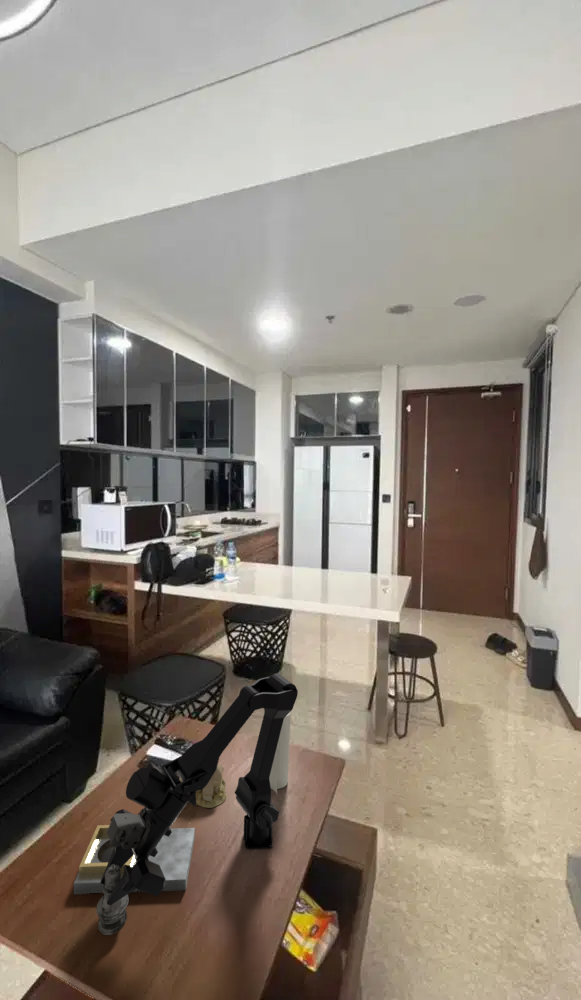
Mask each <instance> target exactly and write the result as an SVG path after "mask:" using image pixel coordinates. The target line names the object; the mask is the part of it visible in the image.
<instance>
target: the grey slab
mask: <svg viewBox="0 0 581 1000" xmlns="http://www.w3.org/2000/svg"><path fill="white" fill-rule="evenodd" d="M109 825H110V824H100V825H99V824H97V826H96V829H95V830H94V833H93V835H92V837H91V839H90V841H89V844H88V846H87V848H86V851H85V852H84V855H83V857H82V860H81V862H80V864H79V867H78V873H77V875H76V877H75V880H74V882H73V895H90V894H89V893H101V894H103V893H102V892H103V886H104V884H101V879H102V876H103V874H104V872H105V869H106V867H107V864H108V862H109V859H110V857H111V854H112V851H113V849H114V847H113V846H112V845H111V843H110V838H109V835H107V830H108V828H109ZM170 829H171V831H172V833H171V834H170V836H169V837H168V836H166V835H164V837H163V838H162V840H161V841H160V842H159V844H158V845H157V847H156V849H157V851H158V853H157V854H156V856H155V857H152V856H149V857H148V859H149V861H151V862H153V863H156V864H158V865H160V868H161V870H162V872H163V874H164V877H165V886H164V888H163V889H162V891H161V892H174V891H176V892H177V891H178V892H179V891H186V890H187V885H188V880H189V879H188V878H189V872H190V868H191V862H192V856H193V850H194V845H195V838H196V832H195V831H196V828H195V827H181V828H180V827H177V828H171V827H170ZM136 862H137V861H136V859H135V856H134V855H133V856H132V857H131V858H130V859H129V860H128V861H127V862H126V863H125V864H124V865H128V866H130V867H132V866H133V865H135V864H136ZM124 865H123V867H122V868H121V878H122V877H123V875H124ZM137 891H138V892H137ZM140 891H141V890H138V889H135V890H134V891H132V892H131V893H144V892H143V891H141V892H140ZM87 893H88V894H87Z"/></svg>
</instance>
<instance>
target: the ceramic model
mask: <svg viewBox="0 0 581 1000" xmlns="http://www.w3.org/2000/svg"><path fill="white" fill-rule="evenodd" d="M223 774H224V766H223V765H221V764H220V763H219V762H218V765H217V769H216V771H215V773H214V774H213V776H212V778H211V779H210V781H209V782H208V784H207V785H206V786H205V787H204V788H203V789H202V790H198V791H196V805H197V806H199V807H202V808H205V809H207V808H209V809H210V808H211V809H212V808H215V807H217V806H219V805H221V804H223V803H224V802H225V801H226V800H227V794H226V793H227V792H226V780H225V779H223V778H224V777H223ZM179 780H180V781H181V782H183V781H182V780H181V778H180V777H179Z"/></svg>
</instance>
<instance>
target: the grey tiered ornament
mask: <svg viewBox="0 0 581 1000" xmlns="http://www.w3.org/2000/svg"><path fill="white" fill-rule="evenodd" d="M120 880H121V869H120V867H119V866H118V865H114V864H112V865H111V866H110V867H109V868H108V869H107V870H106V873H105V884H104V886H103V892H104V893H103V896H101V898H100V899H99V900H98V902H97V905H96V910H95V911H96V914H97V915H96V916H97V917H98V918H99V919H98V922H97V923H98V924H97V929H98V931H99V932H100V934H102V935H104V936H110V935H114V934H116V933H117V932H119V931H120V930H121V929H122V928H123V926H125V924H126V921H127V918H128V913H127V907H128V905H129V901H130V900H129V899H130V898H129V894H127V895H126V896H124V897H123V898H121V899H120V900H118V901H117V902H115V903H114V904H112V905H108V904H107V900H108V899H109V897H110V895H111V893H112V892H113V890H114V889H115V887H116V886H117V884H118V883H119V881H120Z"/></svg>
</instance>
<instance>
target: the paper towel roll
mask: <svg viewBox="0 0 581 1000" xmlns="http://www.w3.org/2000/svg"><path fill="white" fill-rule="evenodd" d="M290 730H291V712H290V713H289V714H288V715H287V716H286V717H285V718H284V720H283V724H282V728H281V732H280V736H279V740H278V744H277V749H276V753H275V757H274V761H273V765H272V769H271V773H270V778H269V779H270V786H271V790H272V791H273V792H275V794H276V795H278V789H279V790H280V789H283V788H285V787H286V786H287V784H288V781H289V763H290V761H289V760H290V759H289V758H290V757H289V756H290V755H289V754H290V734H291V731H290Z"/></svg>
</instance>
